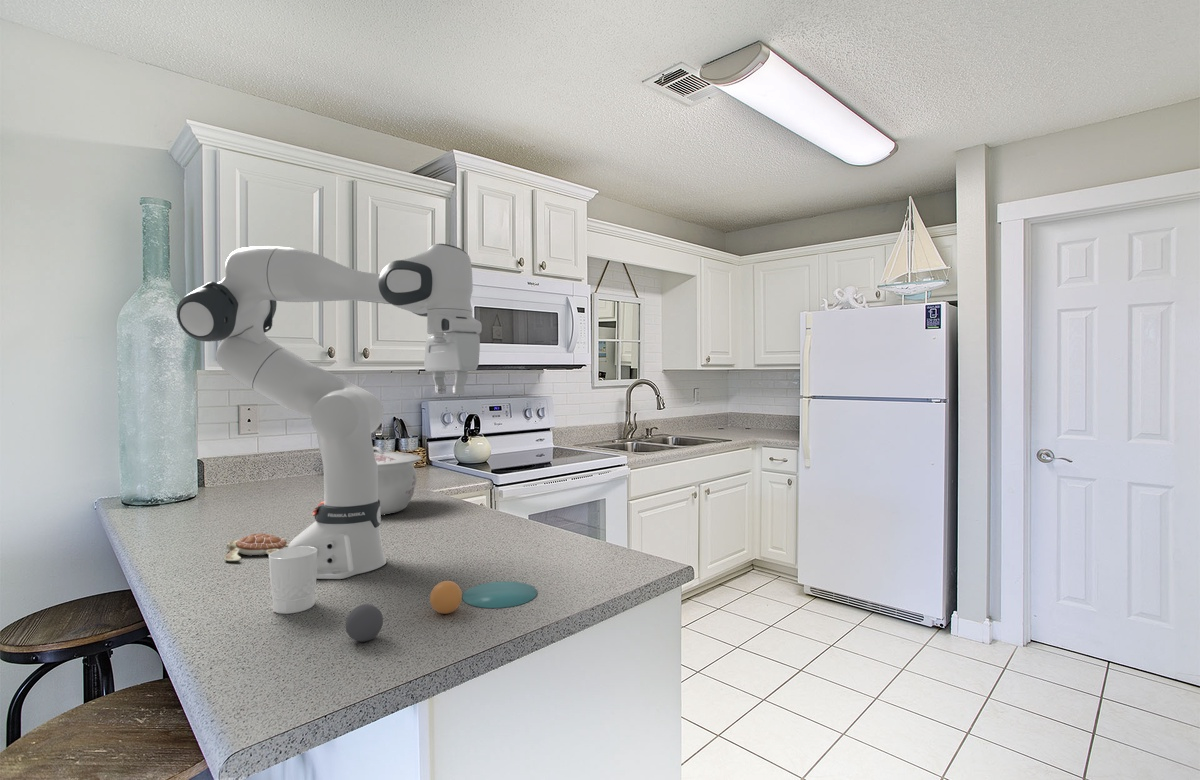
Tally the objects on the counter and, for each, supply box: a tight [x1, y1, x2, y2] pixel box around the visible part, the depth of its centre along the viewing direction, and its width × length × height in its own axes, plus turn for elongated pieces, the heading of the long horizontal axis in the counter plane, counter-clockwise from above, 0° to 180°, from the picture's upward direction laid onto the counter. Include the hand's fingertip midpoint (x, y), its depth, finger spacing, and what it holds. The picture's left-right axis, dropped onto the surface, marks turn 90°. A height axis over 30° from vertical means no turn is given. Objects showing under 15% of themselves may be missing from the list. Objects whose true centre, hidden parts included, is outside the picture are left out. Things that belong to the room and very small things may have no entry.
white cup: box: [268, 546, 318, 615], centre depth 109 cm, size 8×8×10 cm
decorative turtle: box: [224, 532, 290, 562], centre depth 145 cm, size 18×17×5 cm
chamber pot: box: [373, 445, 423, 516], centre depth 190 cm, size 28×28×21 cm
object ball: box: [429, 580, 463, 615], centre depth 106 cm, size 6×6×6 cm
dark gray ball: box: [345, 603, 384, 642], centre depth 95 cm, size 6×6×6 cm
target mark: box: [462, 580, 538, 609], centre depth 115 cm, size 14×14×1 cm
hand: (449, 394), depth 122 cm, fingers open, 8 cm apart
